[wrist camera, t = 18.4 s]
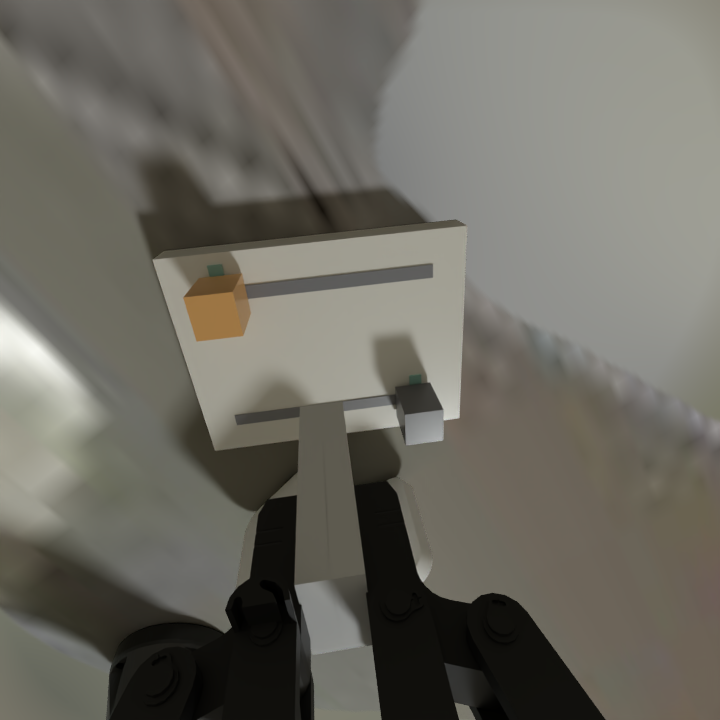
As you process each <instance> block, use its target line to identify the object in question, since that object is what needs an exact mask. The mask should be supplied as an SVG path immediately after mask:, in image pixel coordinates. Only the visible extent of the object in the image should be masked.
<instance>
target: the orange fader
mask: <svg viewBox="0 0 720 720" xmlns="http://www.w3.org/2000/svg"><path fill="white" fill-rule="evenodd" d="M183 299H184V302H185V305H186V309H187V312H188V315H189V319H190V322H191V325H192V328H193V332H194V335H195V338H196V341H197V342H198V341H206V340H215V339H223V338H231V337H240V336H244V333H245V330H246V327H247V324H248V321H249V318H250V315H251V311H250V306H249V302H248V297H247V293H246V288H245V284H244V280H243V275H242V273H241V274H232V275H223V276H214V277H205V278H198V280H197V281H196V282H195V283H194V285H193V286H192V287H191V288H190V290H189V291H188V292H187V293H186V295H185V296H184V297H183Z"/></svg>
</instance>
